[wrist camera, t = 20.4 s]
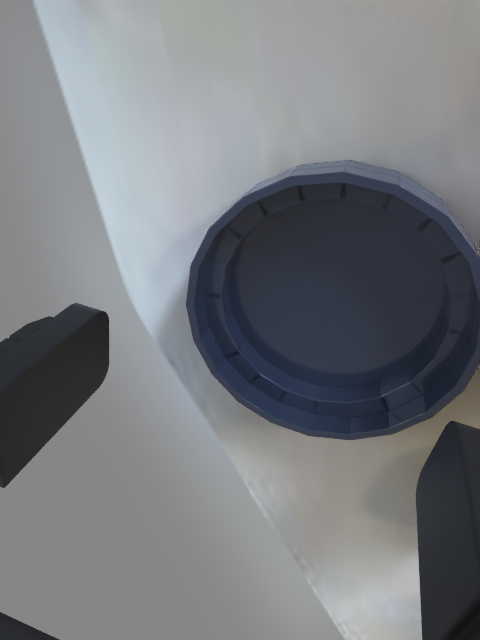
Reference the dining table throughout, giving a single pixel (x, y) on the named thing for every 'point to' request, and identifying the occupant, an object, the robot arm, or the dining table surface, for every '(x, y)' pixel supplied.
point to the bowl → (338, 301)
